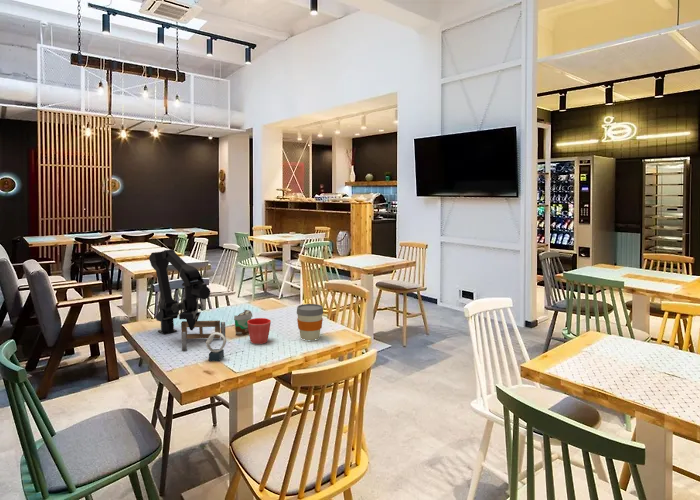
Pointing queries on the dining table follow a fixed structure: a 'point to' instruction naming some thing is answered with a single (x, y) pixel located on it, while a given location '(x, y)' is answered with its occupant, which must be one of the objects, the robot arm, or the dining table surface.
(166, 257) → the robot arm
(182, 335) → the grey piece
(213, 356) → the ring on dark base
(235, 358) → the dining table surface
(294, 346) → the dining table surface
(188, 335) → the wooden frame
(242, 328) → the food container
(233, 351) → the dining table surface
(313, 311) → the reusable coffee cup
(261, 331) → the flower pot
